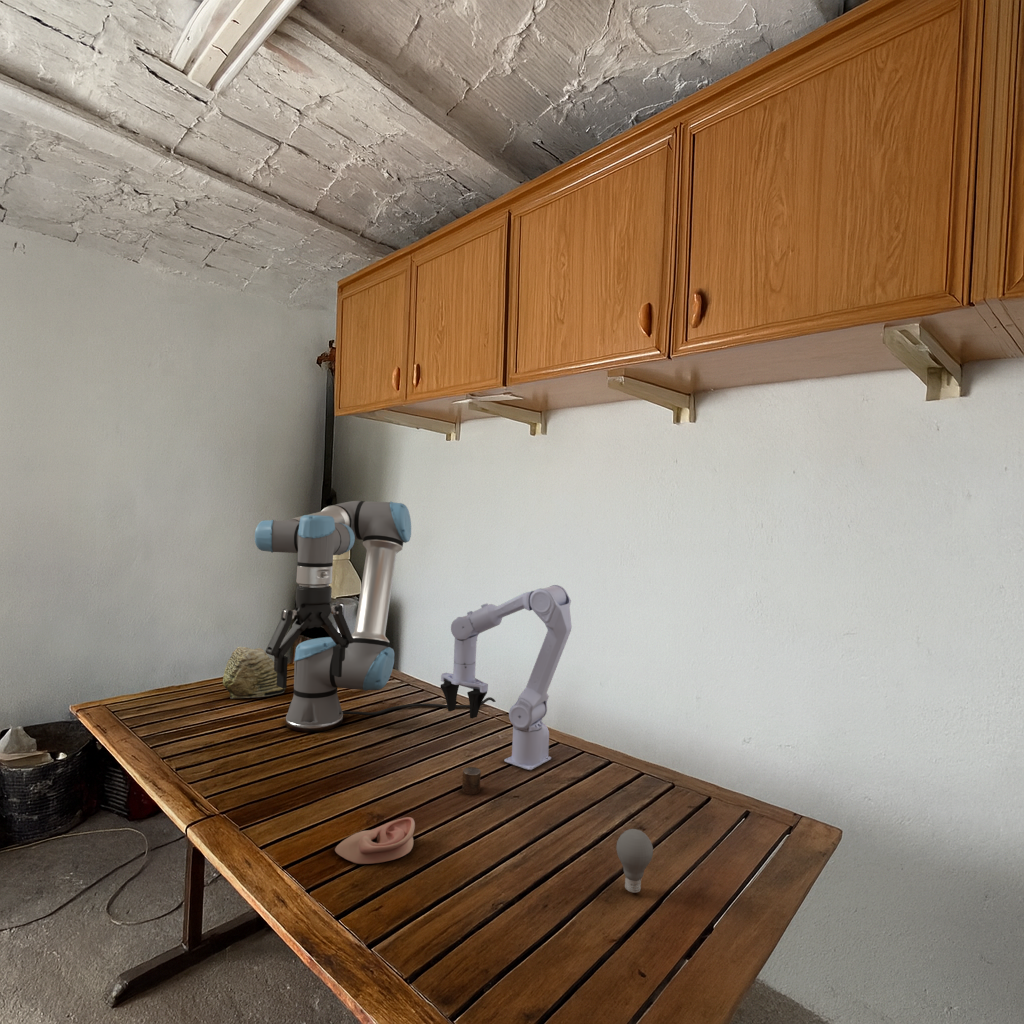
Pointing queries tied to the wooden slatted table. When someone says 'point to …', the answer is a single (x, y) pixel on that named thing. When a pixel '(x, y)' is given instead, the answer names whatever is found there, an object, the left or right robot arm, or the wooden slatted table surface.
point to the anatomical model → (379, 843)
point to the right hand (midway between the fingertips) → (462, 713)
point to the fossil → (250, 674)
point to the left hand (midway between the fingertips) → (310, 681)
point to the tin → (471, 780)
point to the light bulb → (634, 857)
